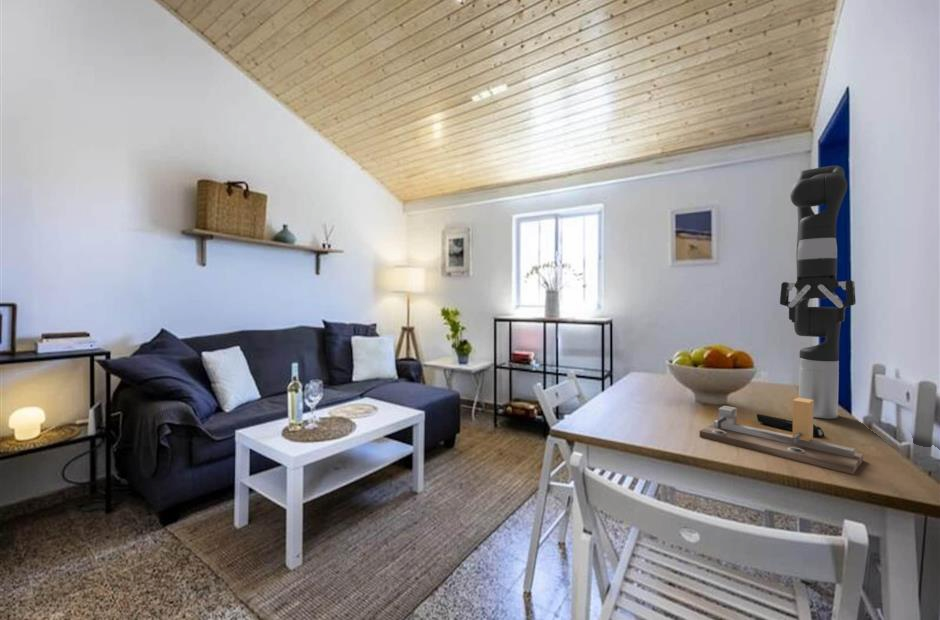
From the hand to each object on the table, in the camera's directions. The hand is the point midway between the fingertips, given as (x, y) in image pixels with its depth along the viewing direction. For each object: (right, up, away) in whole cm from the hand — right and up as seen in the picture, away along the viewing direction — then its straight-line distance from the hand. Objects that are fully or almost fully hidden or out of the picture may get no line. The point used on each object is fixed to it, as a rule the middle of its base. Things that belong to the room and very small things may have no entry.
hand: (815, 322), depth 102 cm
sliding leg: (-9, -28, -6) cm, 30 cm away
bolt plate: (-12, -30, -2) cm, 33 cm away
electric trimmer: (+2, -30, +11) cm, 32 cm away
